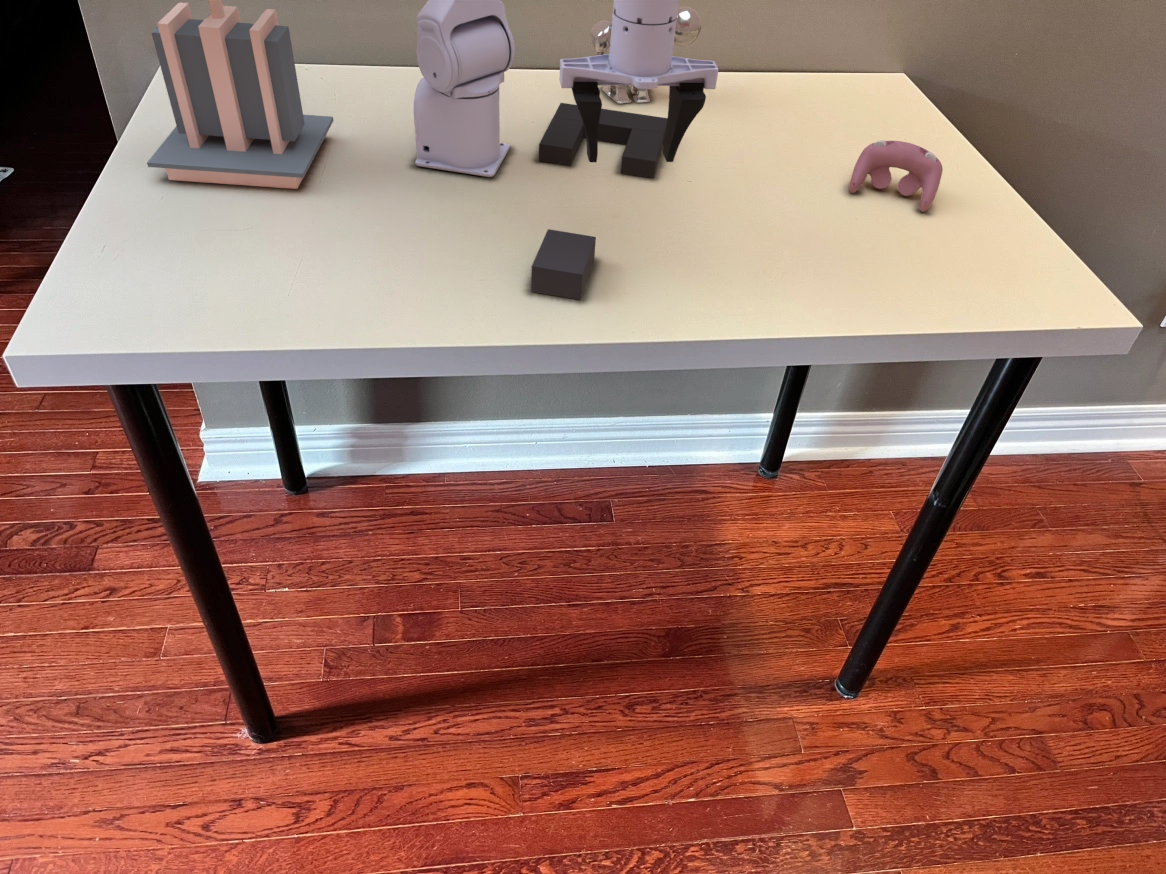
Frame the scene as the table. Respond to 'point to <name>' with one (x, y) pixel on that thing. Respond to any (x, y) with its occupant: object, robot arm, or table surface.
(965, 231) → the table surface
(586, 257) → the pad
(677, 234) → the table surface
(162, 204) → the table surface
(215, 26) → the striped block on base
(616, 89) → the robot toy
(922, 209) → the video game controller
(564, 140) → the notched dark slab
